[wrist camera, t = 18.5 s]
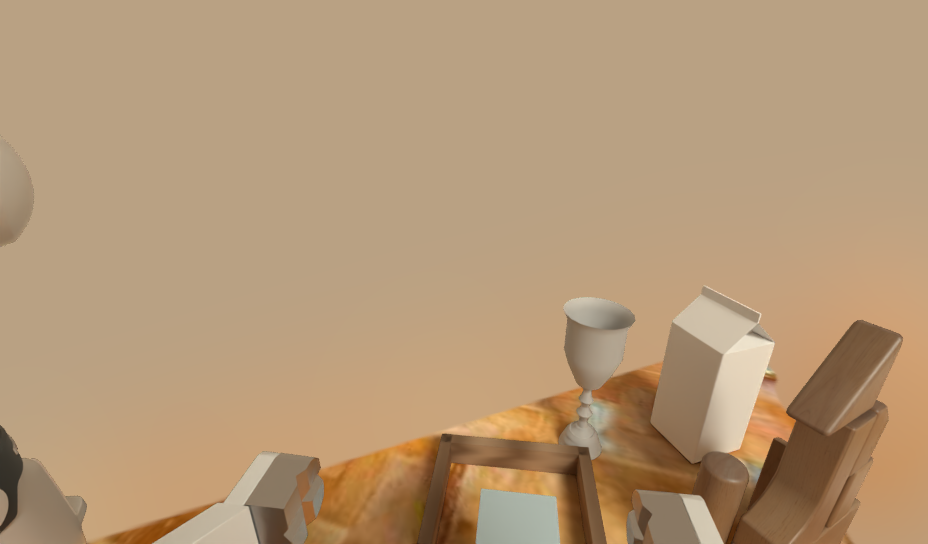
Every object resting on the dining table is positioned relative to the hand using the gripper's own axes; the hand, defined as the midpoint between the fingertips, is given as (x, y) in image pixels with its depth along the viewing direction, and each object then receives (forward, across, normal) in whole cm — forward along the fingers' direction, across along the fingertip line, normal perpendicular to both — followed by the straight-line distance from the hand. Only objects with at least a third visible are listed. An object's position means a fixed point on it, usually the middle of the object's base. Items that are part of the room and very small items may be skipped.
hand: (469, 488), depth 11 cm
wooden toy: (+21, -24, +30) cm, 44 cm away
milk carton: (+36, -24, +30) cm, 53 cm away
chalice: (+33, -10, +30) cm, 46 cm away
